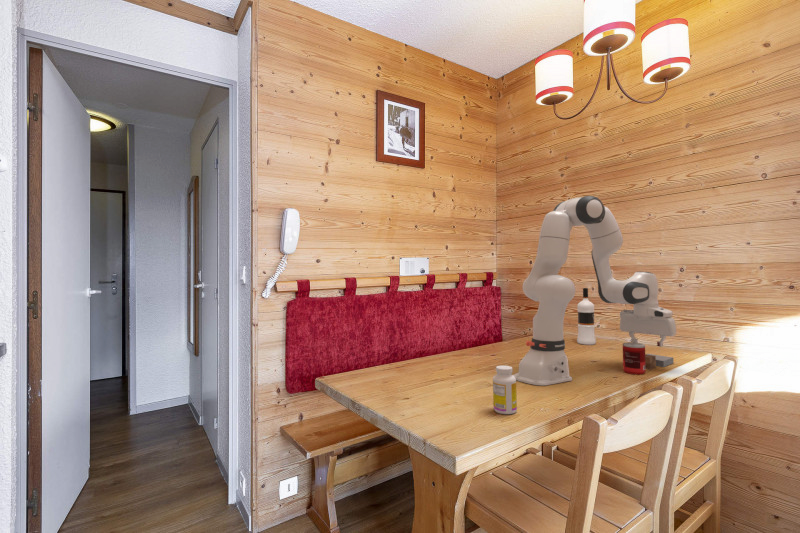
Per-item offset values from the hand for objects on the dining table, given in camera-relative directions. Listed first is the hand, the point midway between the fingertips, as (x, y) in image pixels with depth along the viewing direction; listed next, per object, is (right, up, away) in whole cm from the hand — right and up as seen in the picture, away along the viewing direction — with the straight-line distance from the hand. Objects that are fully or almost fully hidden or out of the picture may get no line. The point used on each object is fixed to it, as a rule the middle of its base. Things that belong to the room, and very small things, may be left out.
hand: (647, 344), depth 163 cm
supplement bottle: (-71, -11, -46) cm, 85 cm away
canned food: (-9, -10, -7) cm, 15 cm away
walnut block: (0, -10, 0) cm, 10 cm away
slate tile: (+8, -9, +7) cm, 14 cm away
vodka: (-1, -10, +51) cm, 52 cm away
